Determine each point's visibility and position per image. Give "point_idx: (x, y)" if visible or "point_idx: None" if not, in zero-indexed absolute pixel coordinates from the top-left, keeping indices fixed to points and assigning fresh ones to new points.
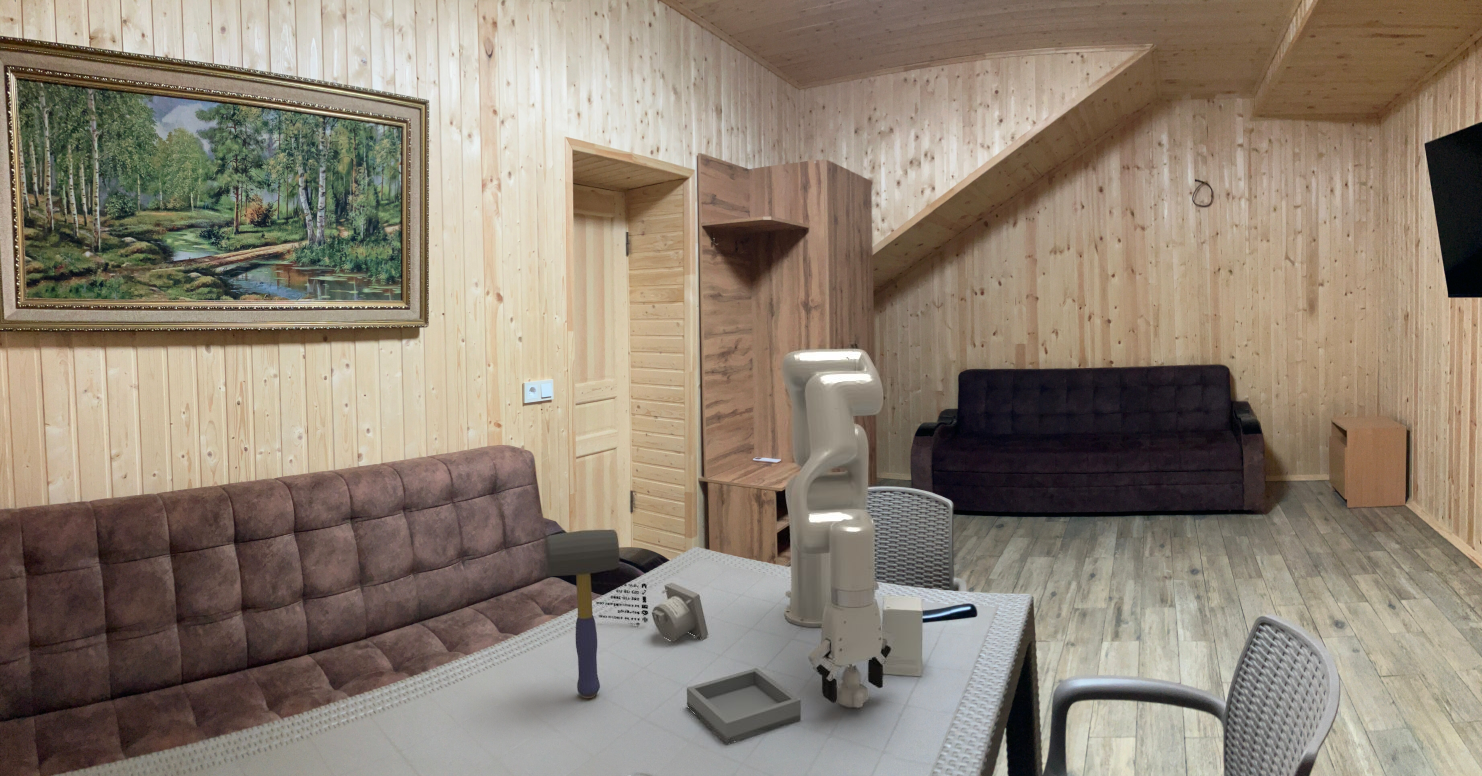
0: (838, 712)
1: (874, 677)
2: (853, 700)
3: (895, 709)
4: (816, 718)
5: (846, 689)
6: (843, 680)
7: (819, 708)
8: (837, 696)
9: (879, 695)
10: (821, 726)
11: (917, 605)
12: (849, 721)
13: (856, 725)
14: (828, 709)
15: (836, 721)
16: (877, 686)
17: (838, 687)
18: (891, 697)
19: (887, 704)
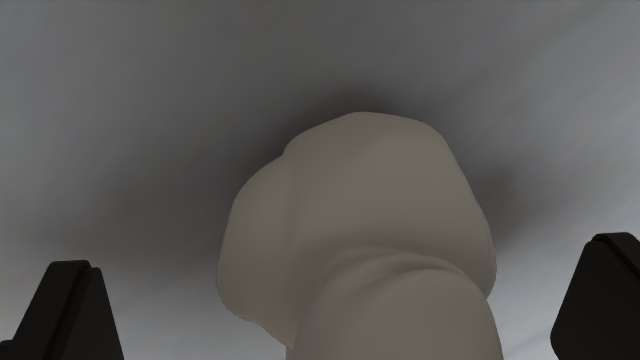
0: (203, 219)
1: (602, 357)
2: (286, 348)
3: (513, 322)
4: (7, 214)
5: (288, 329)
6: (294, 355)
7: (94, 111)
8: (222, 243)
9: (597, 172)
10: (3, 297)
11: None
12: (206, 318)
13: (217, 357)
14: (157, 157)
15: (129, 291)
16: (557, 330)
17: (272, 231)
18: (622, 224)
19: (530, 271)
